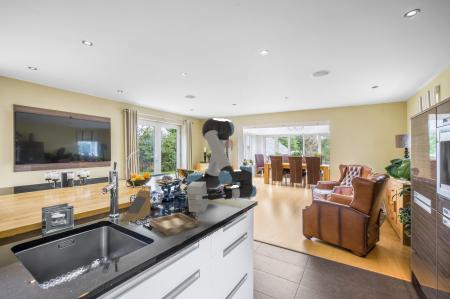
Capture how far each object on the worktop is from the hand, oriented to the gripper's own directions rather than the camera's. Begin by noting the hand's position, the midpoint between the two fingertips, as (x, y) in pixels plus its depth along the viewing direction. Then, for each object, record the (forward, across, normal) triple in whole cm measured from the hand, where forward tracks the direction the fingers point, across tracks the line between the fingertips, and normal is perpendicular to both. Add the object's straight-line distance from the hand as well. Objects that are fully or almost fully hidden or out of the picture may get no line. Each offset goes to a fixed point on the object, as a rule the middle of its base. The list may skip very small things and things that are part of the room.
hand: (194, 195), depth 118 cm
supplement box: (-3, +1, -9) cm, 9 cm away
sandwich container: (+33, +18, -16) cm, 40 cm away
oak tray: (+11, -5, -14) cm, 19 cm away
